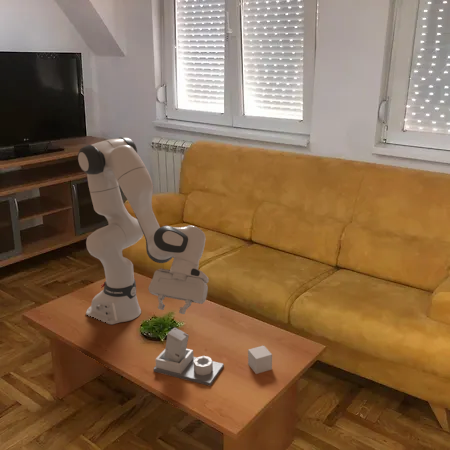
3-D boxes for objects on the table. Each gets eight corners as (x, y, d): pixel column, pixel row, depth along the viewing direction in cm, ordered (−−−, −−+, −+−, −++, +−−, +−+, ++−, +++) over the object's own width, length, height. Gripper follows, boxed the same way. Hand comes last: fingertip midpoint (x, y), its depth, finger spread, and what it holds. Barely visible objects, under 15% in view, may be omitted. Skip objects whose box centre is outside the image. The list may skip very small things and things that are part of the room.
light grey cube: (256, 374, 171) (256, 358, 168) (248, 364, 176) (248, 349, 174) (272, 369, 173) (272, 354, 171) (263, 360, 178) (263, 345, 176)
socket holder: (153, 371, 173) (152, 360, 171) (169, 353, 182) (168, 342, 181) (210, 385, 165) (209, 374, 164) (223, 366, 175) (223, 355, 173)
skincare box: (163, 360, 174) (166, 333, 169) (171, 353, 178) (174, 326, 172) (177, 369, 172) (181, 341, 166) (185, 361, 175) (189, 334, 170)
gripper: (152, 264, 174) (139, 302, 169) (207, 273, 167) (195, 313, 161) (160, 271, 180) (147, 308, 174) (213, 279, 172) (201, 319, 167)
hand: (171, 311), depth 168 cm, fingers open, 6 cm apart
